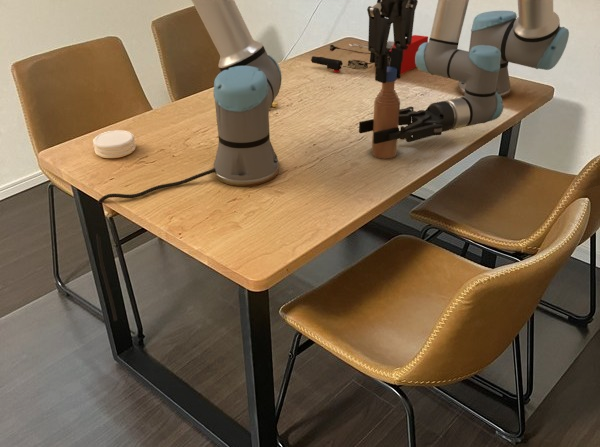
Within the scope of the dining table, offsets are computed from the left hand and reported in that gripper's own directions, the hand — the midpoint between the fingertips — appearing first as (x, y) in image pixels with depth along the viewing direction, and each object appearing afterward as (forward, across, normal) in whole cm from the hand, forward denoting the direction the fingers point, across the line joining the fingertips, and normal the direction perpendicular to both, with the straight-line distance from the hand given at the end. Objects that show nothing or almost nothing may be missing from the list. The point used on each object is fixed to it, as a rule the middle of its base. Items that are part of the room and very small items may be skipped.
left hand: (387, 79), depth 143 cm
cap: (-2, 0, 0) cm, 2 cm away
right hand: (+12, -5, +1) cm, 13 cm away
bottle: (+19, 0, 0) cm, 19 cm away
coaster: (+19, -50, +45) cm, 70 cm away
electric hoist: (+19, +45, +51) cm, 70 cm away
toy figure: (+19, -4, +47) cm, 51 cm away
